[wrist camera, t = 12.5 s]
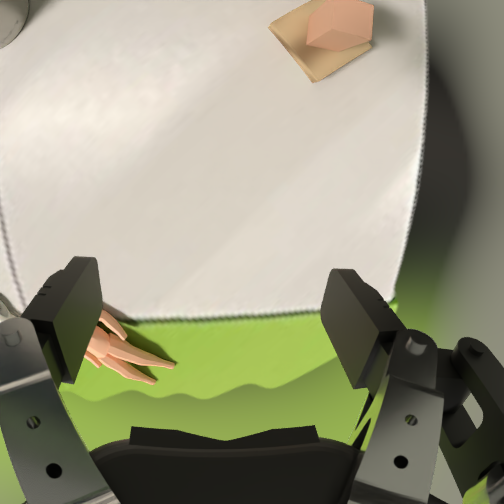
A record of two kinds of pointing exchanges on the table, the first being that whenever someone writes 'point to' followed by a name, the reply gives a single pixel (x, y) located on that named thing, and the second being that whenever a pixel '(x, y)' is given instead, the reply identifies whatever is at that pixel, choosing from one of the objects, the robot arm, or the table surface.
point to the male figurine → (120, 352)
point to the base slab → (309, 57)
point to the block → (340, 24)
